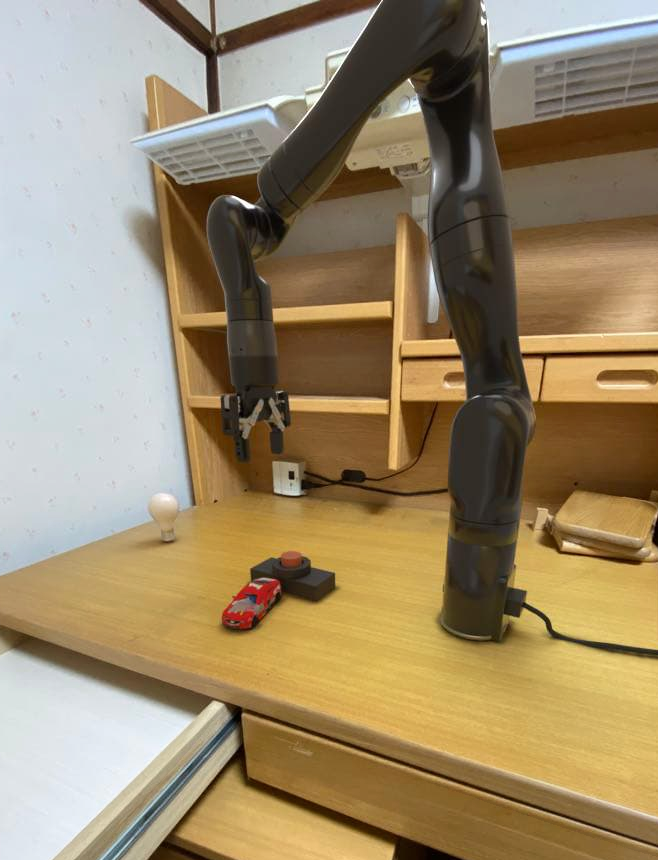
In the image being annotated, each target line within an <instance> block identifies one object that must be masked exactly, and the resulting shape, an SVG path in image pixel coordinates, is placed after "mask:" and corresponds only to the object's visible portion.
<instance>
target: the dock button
mask: <svg viewBox="0 0 658 860" xmlns="http://www.w3.org/2000/svg"><path fill="white" fill-rule="evenodd" d="M302 556H303V555H302V553H301V552H300V551H296V550H295V551H294V550H289V551H288V550H287V551H285V552H282V553H281V554H280V557H281V565H282V566H283V567H297V566H300V565H302Z"/></svg>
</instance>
